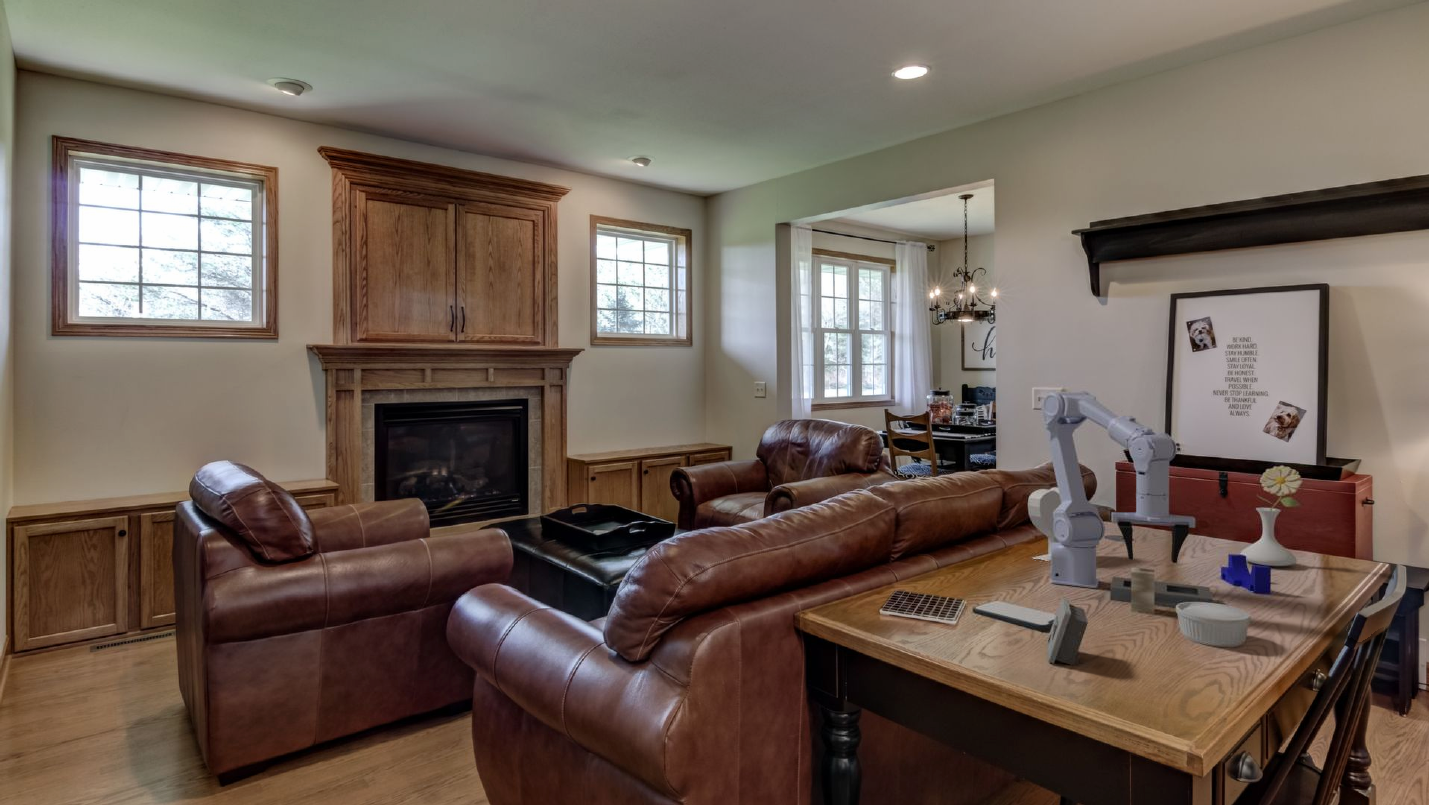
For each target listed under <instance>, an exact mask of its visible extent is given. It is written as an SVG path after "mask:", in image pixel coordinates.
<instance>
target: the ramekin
mask: <svg viewBox="0 0 1429 805" xmlns="http://www.w3.org/2000/svg"><path fill="white" fill-rule="evenodd" d="M1175 612H1176V614H1177V618H1178V619H1177V620H1178V624H1179V625H1178V626H1179V629H1180V632H1181V635H1183V637H1184V638H1186V639H1188V640H1189V641H1192V642H1195V643H1198V644H1201V645H1206V646H1211V647H1218V648H1220V647H1221V648H1235V647H1240V646H1241V645H1242V644H1244V643H1245V641H1246V639H1247V634H1248V628H1249V624H1250V622H1251V615H1250V614H1249V613H1248V612H1247V611H1245V610H1244V609H1240V608H1237V607H1235V606H1230V605H1226V604H1221V603H1215V602H1212V603H1206V602H1185V603H1180V604H1178V605H1177V606H1176V607H1175Z"/></svg>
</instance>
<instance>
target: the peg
mask: <svg viewBox="0 0 1429 805" xmlns="http://www.w3.org/2000/svg"><path fill="white" fill-rule="evenodd" d="M1130 574H1131V577H1130V579H1131V602H1130V611H1131V612H1133V611H1138V612H1137V613H1141V612H1143V613H1142V614H1148V613H1150V615H1155V605H1154V581H1155V569H1150V568H1149V569H1148V568H1143V567H1142V568H1141V567H1140V568H1139V567H1131V572H1130ZM1144 612H1145V613H1144Z"/></svg>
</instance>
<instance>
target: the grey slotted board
mask: <svg viewBox="0 0 1429 805" xmlns="http://www.w3.org/2000/svg"><path fill="white" fill-rule="evenodd" d="M1111 579H1112V580H1111V584H1110V600H1111V601H1113V600H1114V601H1120V600H1123V601H1122V602H1129V603H1131V578H1127V577H1119V576H1113V577H1112V578H1111ZM1185 602H1206V603H1213V596H1212V593H1211V588H1210V586H1202V585H1201V586H1199V585H1192V584H1184V583H1183V584H1181V583H1174V582H1165V581H1164V582H1163V581H1155V580H1154V606H1161V605H1165V606H1164V607H1169V608H1176V606H1177V605H1178V604H1180V603H1185Z"/></svg>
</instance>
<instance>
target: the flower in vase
mask: <svg viewBox="0 0 1429 805" xmlns="http://www.w3.org/2000/svg"><path fill="white" fill-rule="evenodd" d="M1301 477H1302V476H1301V475H1300V473H1299V471H1297V470H1296V469H1293V468H1291V467H1289V466H1284V465H1280V466H1276V465H1275V466H1273V467H1272V468H1267V469H1266V470H1265V472H1263V473H1262V476H1260V480H1259V482H1260V484H1261V487H1263V491H1266V492H1268V493H1270V494H1271V495H1275V496H1278V497H1279V498H1278V499H1277V501H1276V502H1274V503H1272V502H1271V501H1270V500H1268V499H1266V498H1263V497H1261V496H1260V495H1258V494H1256V493H1255V494H1256V496H1257V497H1258V498H1259V499H1261V500H1263V501H1265V502H1266V503H1269V504H1272V506H1271V507H1256V508H1255V510H1256V511H1257V512H1258V513H1259V515H1260V518H1261V523H1262V534H1261V537H1260V539H1259V540H1257V541H1256V542H1254V543H1252V544H1251V545H1248V546H1247V547H1245V548H1244V549H1243V550H1241V552H1240V554H1239V555H1245V556H1246V562H1249V563H1252V564H1257V565H1259V566H1268V567H1288V566H1293V565H1295V564H1296V563H1297V561H1298V560H1297V557H1296V556H1295V555H1294V554H1293V553H1292V552H1291V551H1289V549H1287V548H1286V547H1284V546H1283V545H1282V544H1281V543H1279V542H1278V541H1277V539H1276V537H1275V524H1276V523H1275V522H1276V518H1277V517H1278V515H1279V513H1280V512H1282V510H1281V508H1280V509H1279V508H1275V506H1276V505H1278V503H1279V502H1280V503H1282V505H1283V506H1284V507H1286V508H1287V507H1288V508H1291V507H1301V506H1302V505H1301V504H1300V503H1299V501H1298V500H1296V499H1295V498H1294V497H1292V496H1287V497H1284V496H1286V495H1292V494H1294V493H1296V492H1297V491H1298V490H1299V488H1300V487H1301V485H1302V483H1303V479H1302V478H1301ZM1282 497H1283V498H1282Z"/></svg>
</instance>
